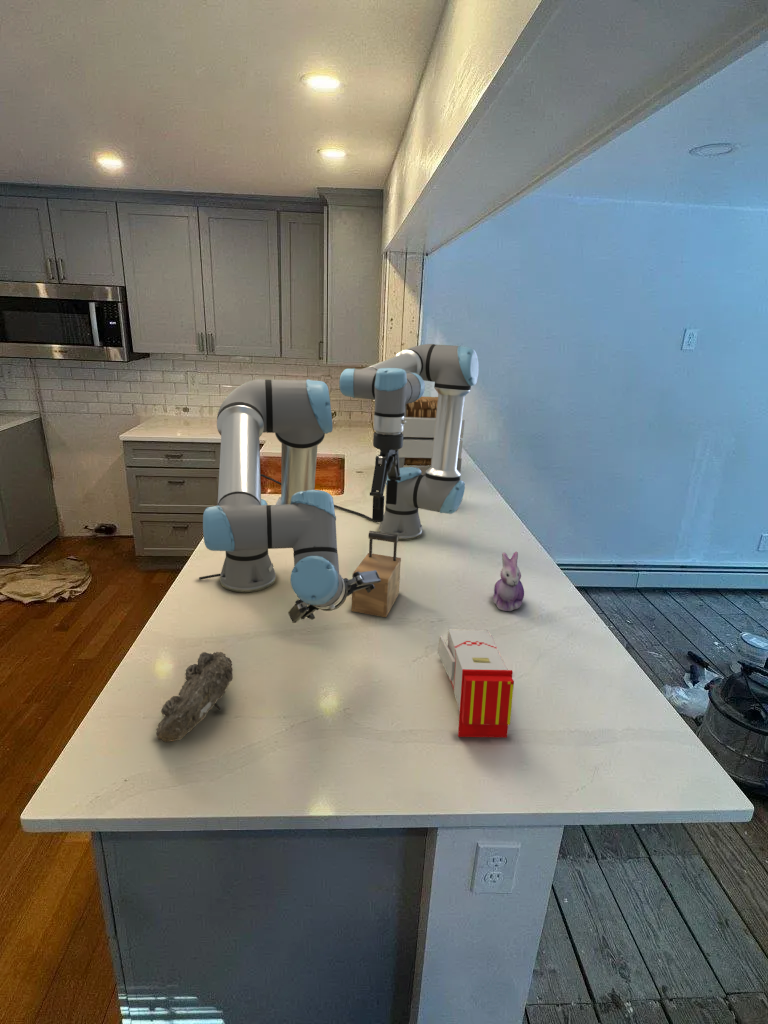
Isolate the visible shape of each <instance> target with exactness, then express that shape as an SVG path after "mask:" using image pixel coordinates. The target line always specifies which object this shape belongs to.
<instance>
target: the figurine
mask: <svg viewBox="0 0 768 1024" xmlns="http://www.w3.org/2000/svg"><path fill="white" fill-rule="evenodd" d="M501 558H502V559H501V560H502V568H501V570H500V574H499V575H500V579H498V580H497V581H496V582H495V584H494V588H493V598H492V600H493V604H494V605H495V606H496V607H497V609H498V610H500V611H504V612H505V611H506V612H512V611H513V610H518V609H519V608H521V605H522V604H523V601H524V598H525V589H524V585H523V583H522V581H521V578H522V573H521V570H520V568H519V566H518V560H519V552H518V551H515V552H514V553H513V554H512V556H511V558H509V557H508V555H507V553H506V552H505V551H503V552H502V553H501Z"/></svg>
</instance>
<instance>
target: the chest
mask: <svg viewBox="0 0 768 1024" xmlns="http://www.w3.org/2000/svg"><path fill="white" fill-rule="evenodd" d="M401 563H402V561H401V562H400V564H399V566H398V567H397V569H396V571H395V572H394V574H393V576H392V577H391V579H390V581H389V582H388V583H383V582H379V583H374V584H373V585H374V587H375V588H374V589H373V590H371V592H369V593H368V592H367V591H366V589H365V588H364V589H361V590H358V591H354V592H353V593H352V594H351V612H354V613H359V614H365V615H371V616H376V617H383V618H387V617H388V615H389V614H390V612H391V610H392V608H393V605H394V604H395V602H396V601H397V598H398V596H399V594H400V582H401V581H400V580H401Z"/></svg>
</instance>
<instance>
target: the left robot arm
mask: <svg viewBox="0 0 768 1024" xmlns="http://www.w3.org/2000/svg"><path fill="white" fill-rule="evenodd" d="M331 406H332V405H331V397H330V391H329V387H328V385H327V383H325V381H323V380H314V379H313V380H312V379H310V378H308V379H306V380H304V379H303V380H302V379H301V380H299V379H266V378H265V379H264V378H261V379H260V378H258V379H252V380H249V381H246V382H244V383H242V384H241V385H239V386H237V387H236V388H235V389H233V390H232V391H231V392H230V393H229V394H228V395H227V396H226V397H225V398H224V399H223V402H222V403H221V405H220V407H219V409H218V411H217V416H216V429H217V432H218V434H219V435H220V451H219V470H218V489H217V504H216V505H214V506H207V507H206V508H205V509H204V511H203V514H202V532H203V543H204V546H205V548H206V549H207V550H209V551H212V552H213V551H214V552H225V557H224V558H225V559H224V561H223V563H222V567H221V570H220V571H221V572H220V573H215V574H210V575H204V576H199V577H198V579H199V580H200V581H201V580H206V579H211V578H212V579H213V578H218V577H219V580H220V586H221V587H222V588H224V589H226V590H228V591H231V592H236V593H253V592H258V591H262V590H265V589H268V588H269V587H271V586H272V585H273V584H275V581H276V570H275V568H274V566H275V565H274V563H272V560H271V558H270V555H269V550H273V549H274V550H275V549H276V550H277V549H293V550H292V551H293V552H292V553H293V568H292V570H291V573H290V586H291V589H292V591H293V592H294V594H295V595H296V597H297V598H298V599H297V600H296V601H295V603H294V605H293V606H292V607H291V608H290V610H289V611H288V612H287V613H288V616H289V618H290V620H291V623H292V624H296V623H298V621H300V620H305V619H306V618H307V619H309V620H315V619H316V617H315V614H314V612H316V611H319V610H321V611H323V612H324V611H325V612H330V611H335V610H337V609H339V608H340V607H342V605H343V604H344V603H345V601H346V600H347V597H349V596H352V593H353V592H354V591H358V590H361V589H364V588H365V589H366V591H367V592H368V593H369V592H371V590H373V589H374V588H375V587H374V585H373V584H374V583H379V582H380V581H381V580H380V577H379V575H378V573H377V571H376V570H374V571H367V572H355V573H354V572H353V573H354V574H353V573H352V574H353V575H351V577H353V578H350V579H348V578H347V577H343V576H342V575H341V574H340V564H339V563H340V562H339V553H338V541H337V539H338V538H337V523H336V522H337V516H336V513H335V507H334V505H335V504H334V498H333V496H332V495H331V493H329V492H327V491H325V490H320V489H315V486H316V472H317V458H318V445H320V444H321V443H322V442H323V440H324V439H325V436H326V435H327V434H329V433H332V432H333V417H332V416H333V414H332V407H331ZM263 433H264V434H265V433H267V434H268V433H269V434H275V437H276V439H277V440H278V441H279V442H280V443H281V455H280V457H281V459H280V460H281V461H280V463H281V464H280V465H281V468H280V469H281V471H280V478H281V480H280V483H281V485H280V497H279V498H278V499H277V501H276V502H275V504H268V502H267V501H266V500H265V499H263V498H262V486H261V485H262V484H261V483H262V482H261V476H260V474H261V449H260V447H261V446H260V438H261V437H262V435H263Z"/></svg>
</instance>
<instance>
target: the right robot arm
mask: <svg viewBox="0 0 768 1024" xmlns="http://www.w3.org/2000/svg"><path fill="white" fill-rule="evenodd" d="M479 372H480V367H479V358H478V354H477V351H476V350H475V349H474V348H473V347H470V346H464V345H451V344H450V345H449V344H436V343H435V344H434V343H425V344H424V343H423V344H419V345H415V346H412V347H408V348H405V349H402V350H400V351H399V352H397V353H396V355H395V356H393V357H391V358H388V359H386V360H383V361H380V362H377V363H375V364H372V365H370V366H367V367H363V368H355V367H352V368H345V369H344V370H342V372H341V374H340V376H339V383H338V384H339V390H340V392H341V393H340V394H342V396H345V397H349V398H353V399H364V400H373V401H374V413H373V431H374V432H373V436H372V437H373V438H372V446H373V447H374V448H375V449H378V450H379V454H378V455H375V461H374V470H373V476H372V481H371V482H372V483H371V488H370V491H369V496H370V497H372V513H371V514H372V515H371V517H370V516H368V515H366V514H363V513H361V512H359V511H355V510H352V509H348V508H346V507H342V506H340V505H337V504H334V509H335V508H336V509H339V510H342V511H345V512H347V513H350V514H354V515H357V516H360V517H362V518H365V519H367V520H368V521H371V522H373V523H379V526H378V532H383V533H390V534H397V535H398V536H399V538H398V541H410V540H415V539H418V538H420V537H421V536H422V535H423V525H422V524H421V518H420V515H419V509H420V510H424V511H430V512H436V513H440V514H449V515H452V514H454V513H456V512H457V511H458V509H459V508H460V506H461V503H462V502H463V497H464V495H465V490H466V483H465V481H463V480H462V479H461V474H460V473H459V472H458V470H457V461H458V452H459V443H460V439H461V438H460V435H461V426H462V419H463V418H464V408H465V400H466V396H467V395H468V394H469V393H471V389H472V387H474V386H476V385H477V383H478V378H479ZM425 382H432V383H434V386H433V387H434V390H435V391H436V393H437V397H438V402H437V412H436V422H435V431H434V441H433V451H432V460H431V465H430V466H429V468H427V469H426V470H425V474H422V470H421V468H419V467H416V466H406V467H405V466H404V467H403V468H399V455H398V449H401V448H402V447H403V434H402V433H401V432H402V431H403V428H404V424H406V420H404V412H405V404H407V403H412V402H414V401H416V400H417V399H419V398H420V397H423V395H424V393H425V390H426V389H425V388H426V385H425ZM260 477H261V478H265V479H267V480H270V481H271V482H274V483H276V484H278V485H280V486H281V481H278V480H277V479H274V478H272V477H270V476H267V475H265V474H262V473H260ZM384 492H385V493H384ZM384 494H385V495H384Z"/></svg>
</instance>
